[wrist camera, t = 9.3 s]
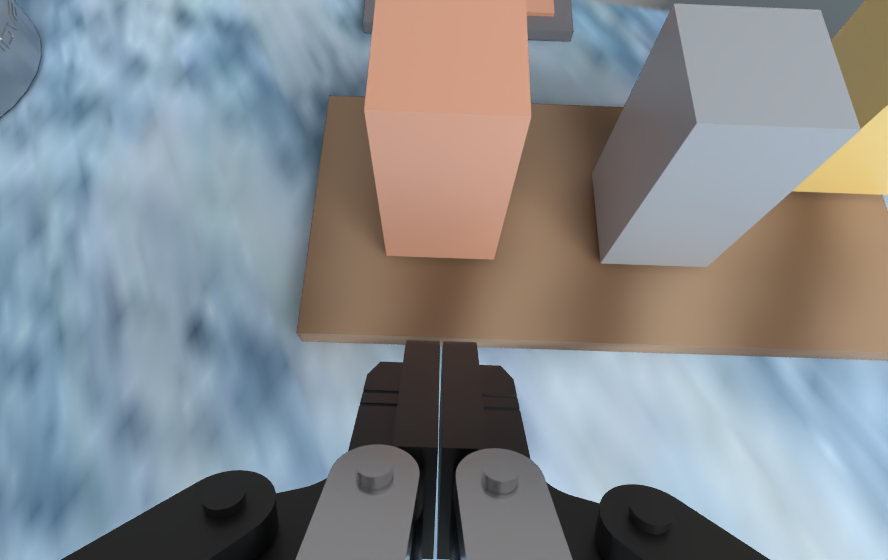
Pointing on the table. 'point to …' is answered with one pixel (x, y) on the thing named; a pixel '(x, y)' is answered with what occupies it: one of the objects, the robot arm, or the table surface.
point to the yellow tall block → (861, 107)
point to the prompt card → (544, 19)
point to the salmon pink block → (446, 121)
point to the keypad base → (591, 265)
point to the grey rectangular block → (718, 132)
